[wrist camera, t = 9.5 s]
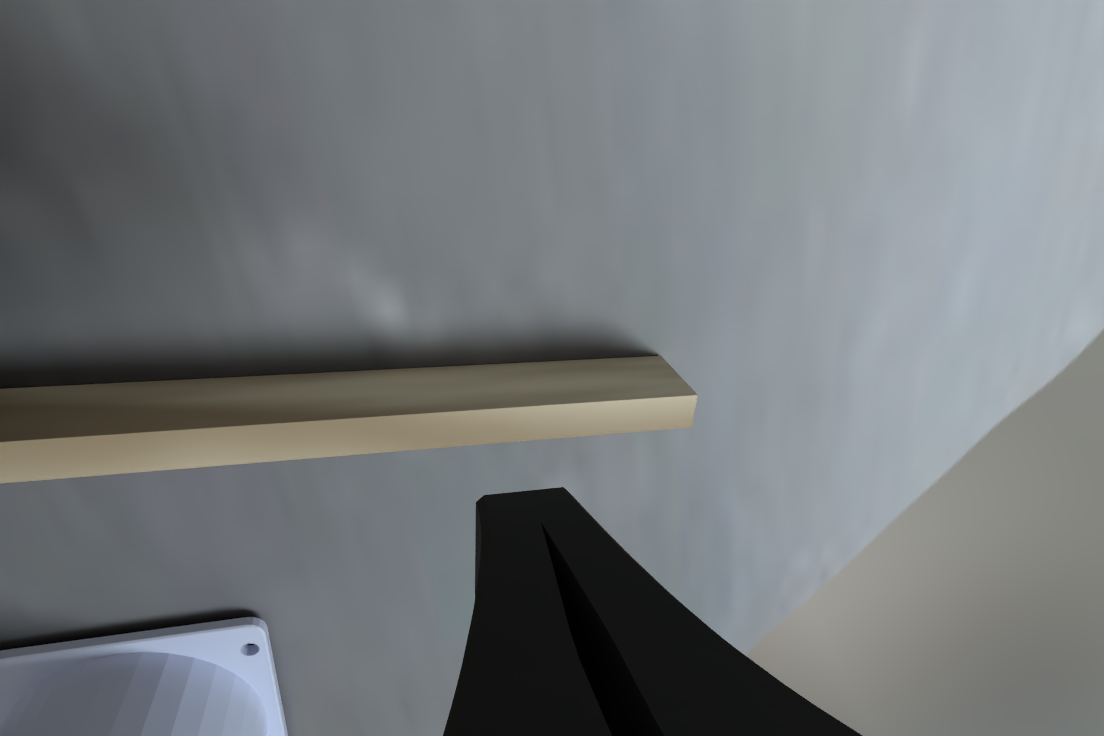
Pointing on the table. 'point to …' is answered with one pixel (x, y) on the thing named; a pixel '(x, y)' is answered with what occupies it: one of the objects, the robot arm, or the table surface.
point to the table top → (328, 414)
